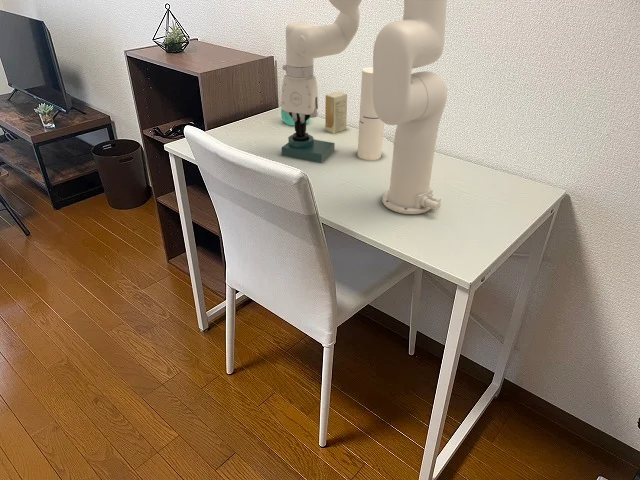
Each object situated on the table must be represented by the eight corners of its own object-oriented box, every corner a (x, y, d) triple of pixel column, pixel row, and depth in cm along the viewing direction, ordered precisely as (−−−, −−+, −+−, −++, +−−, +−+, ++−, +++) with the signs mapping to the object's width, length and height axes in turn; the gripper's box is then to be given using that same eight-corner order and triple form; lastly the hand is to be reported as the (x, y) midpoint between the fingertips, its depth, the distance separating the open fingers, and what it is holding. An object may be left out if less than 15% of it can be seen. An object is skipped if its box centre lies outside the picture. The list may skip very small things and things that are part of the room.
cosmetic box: (337, 126, 170) (338, 90, 163) (346, 129, 167) (348, 93, 160) (324, 130, 166) (324, 94, 159) (333, 134, 163) (334, 97, 157)
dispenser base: (334, 151, 151) (334, 137, 148) (321, 163, 143) (321, 148, 140) (296, 144, 155) (296, 130, 152) (281, 155, 147) (281, 141, 145)
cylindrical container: (373, 162, 144) (379, 74, 130) (352, 156, 147) (357, 70, 134) (385, 154, 149) (393, 69, 135) (365, 149, 152) (371, 65, 139)
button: (311, 139, 149) (311, 133, 148) (304, 144, 145) (304, 138, 144) (297, 137, 150) (297, 130, 149) (290, 142, 147) (290, 135, 146)
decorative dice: (291, 117, 177) (290, 95, 173) (311, 120, 174) (311, 98, 170) (281, 124, 171) (280, 101, 167) (301, 127, 168) (301, 104, 164)
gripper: (269, 71, 137) (272, 134, 146) (318, 77, 132) (318, 142, 141) (282, 65, 142) (284, 126, 152) (329, 71, 137) (328, 134, 147)
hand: (300, 134), depth 147 cm, fingers closed
